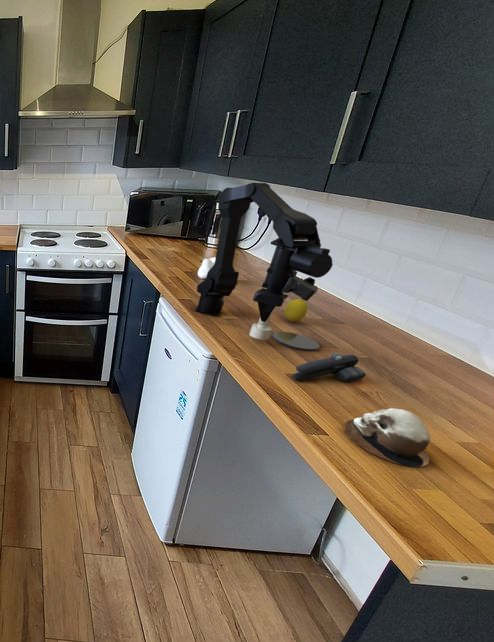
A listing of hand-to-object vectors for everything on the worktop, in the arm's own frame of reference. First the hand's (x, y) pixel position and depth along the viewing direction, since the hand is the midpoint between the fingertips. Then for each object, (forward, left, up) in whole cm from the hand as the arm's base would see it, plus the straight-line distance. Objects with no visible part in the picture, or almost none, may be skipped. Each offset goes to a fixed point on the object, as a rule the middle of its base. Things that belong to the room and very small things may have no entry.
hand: (264, 320), depth 111 cm
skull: (+27, -32, -7) cm, 42 cm away
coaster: (+8, +9, -7) cm, 14 cm away
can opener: (+16, -10, -7) cm, 20 cm away
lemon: (+5, +26, -7) cm, 28 cm away
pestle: (0, 0, -5) cm, 5 cm away
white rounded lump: (-27, +56, -2) cm, 62 cm away
